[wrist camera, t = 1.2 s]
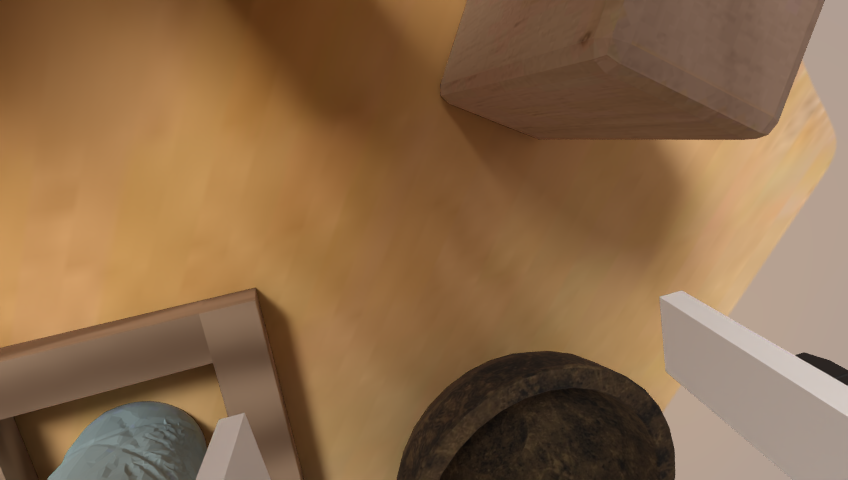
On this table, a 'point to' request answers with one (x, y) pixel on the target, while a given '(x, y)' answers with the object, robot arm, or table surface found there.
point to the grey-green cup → (136, 446)
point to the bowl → (540, 425)
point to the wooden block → (629, 66)
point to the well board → (153, 372)
